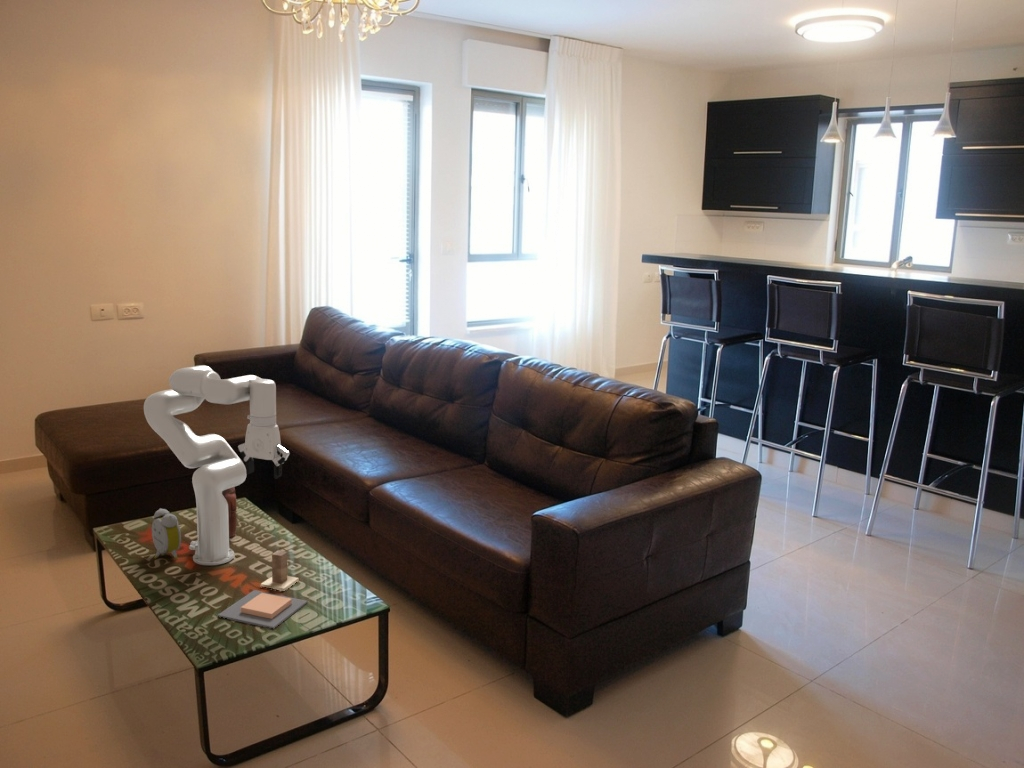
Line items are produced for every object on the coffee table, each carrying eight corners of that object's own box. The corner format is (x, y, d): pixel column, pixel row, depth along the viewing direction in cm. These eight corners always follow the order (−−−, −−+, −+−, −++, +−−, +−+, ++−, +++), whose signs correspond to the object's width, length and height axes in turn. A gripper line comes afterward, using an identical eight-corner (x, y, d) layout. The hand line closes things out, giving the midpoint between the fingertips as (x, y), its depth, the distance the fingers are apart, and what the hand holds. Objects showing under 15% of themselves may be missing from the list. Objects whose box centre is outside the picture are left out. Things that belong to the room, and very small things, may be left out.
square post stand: (260, 587, 249) (260, 555, 247) (276, 577, 256) (275, 546, 254) (283, 592, 246) (283, 560, 244) (298, 581, 254) (298, 550, 252)
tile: (240, 607, 231) (271, 613, 228) (261, 592, 240) (291, 598, 237) (240, 612, 231) (271, 619, 228) (261, 597, 241) (291, 604, 238)
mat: (217, 616, 230) (217, 614, 229) (254, 591, 245) (254, 589, 245) (273, 629, 224) (273, 627, 224) (307, 602, 240) (307, 600, 240)
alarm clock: (182, 559, 266) (181, 515, 263) (161, 564, 261) (159, 519, 258) (168, 548, 274) (166, 505, 271) (147, 553, 269) (145, 509, 266)
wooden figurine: (214, 527, 293) (212, 479, 289) (232, 525, 296) (231, 477, 292) (219, 539, 283) (218, 489, 279) (239, 537, 286) (238, 487, 282)
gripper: (230, 419, 247) (232, 474, 250) (281, 426, 242) (281, 482, 245) (246, 414, 254) (247, 468, 257) (295, 421, 249) (295, 475, 252)
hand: (264, 475), depth 251 cm, fingers open, 9 cm apart
